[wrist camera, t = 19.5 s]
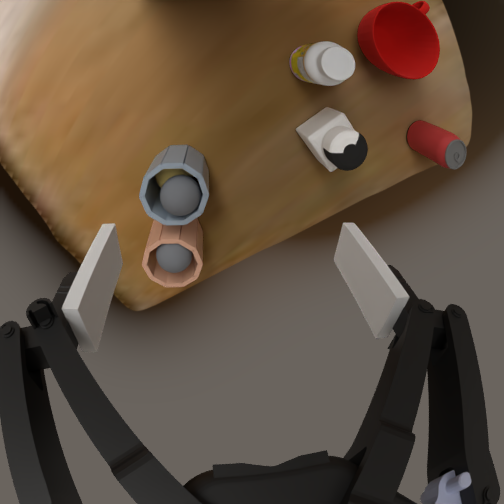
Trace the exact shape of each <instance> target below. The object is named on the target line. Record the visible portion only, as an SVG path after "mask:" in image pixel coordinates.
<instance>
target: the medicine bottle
mask: <svg viewBox="0 0 504 504" xmlns="http://www.w3.org/2000/svg"><path fill="white" fill-rule="evenodd" d="M296 131H297V133H298V134H299V136H300V137H301V138H302V140H303V141H304V142H305V144H306V145H307V146H308V148H309V149H310V151H311V152H312V153H313V155H314V156H315V158H316V159H317V160H318V161H319V162H320V163H321V164H322V165H324V166H325V167H326V168H327V169H328V170H329V171H330V172H333V171H334V170H335V169H337V168H339V169H341V170H345V171H348V170H353V169H356V168H357V167H359V166H360V165H361V164H362V163H363V162H364V160H365V158H366V156H367V151H368V148H367V143H366V140H365V138H364V137H363V136H362V135H361V134H360V133H358V132H356V131H355V130H354V129H353V127H352V125H351V124H350V122H349V120H348V119H347V117H346V116H345V114H344V113H342V112H340V111H337V110H335V109H332V108H330V107H325V108H324V109H323V110H321V111H320V112H318V113H317V114H315V115H314V116H313V117H311V118H310V119H308V120H307V121H306V122H304V123H303V124H301V125H300V126H299V127H297V128H296Z"/></svg>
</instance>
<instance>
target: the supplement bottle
mask: <svg viewBox="0 0 504 504" xmlns="http://www.w3.org/2000/svg"><path fill="white" fill-rule="evenodd" d="M289 64H290V68H291V71H292V72H293V74H294V75H295V76H296V77H297V78H298V79H300V80H302V81H305V82H309V83H315V84H321V85H326V86H334V85H338V84H340V83H342V82H343V81H345V80H346V79H348V78H349V77H351V76H352V74H353V73H354V70H355V60H354V58H353V56H352V54H351V53H350V52H349V51H348V50H346V49H345V48H342V47H341V46H340V45H338V44H336V43H334V42H329V41H322V42H317V43H311V44H307V45H303V46H300V47H298V48H297V49H295V50H294V51H293V53H292V54H291V56H290V61H289Z"/></svg>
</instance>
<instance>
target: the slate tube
mask: <svg viewBox="0 0 504 504" xmlns="http://www.w3.org/2000/svg"><path fill="white" fill-rule="evenodd" d="M178 168H182V169H184V170H185V171H187V172H188V173H190V174H191V175H193V176H194V177H196V178H197V179H198V181H199V187H200V191H201V199H200V202H199V205H198V206H197V208H196V209H195V210H194V211H193V212H191V213H190V214H188V215H184V216H176V215H173V214H170V213H169V212H168V211H166V210H165V209H164V207H163V206H162V203H161V200H160V191H161V187H160V186H159V185H158V183H157V181H156V178H155V175H156V174H157V173H158V172H160V171H161V170H162V169H178ZM139 196H140V197H139V198H140V200H141V202H142V204H143V207H144V209H145V211H146V213H147V214H148V216H150V217H151V218H153V219H155V220H156V221H158V222H160V223H161V224H163V225H185V224H186V225H187V224H188V223H189V222H191V221H192V220H194V219H195V218H197V217H198V216H200V215H202V213H203V211H204V208H205V205H206V203H207V200H208V197H209V170H208V167H207V164H206V161H205V158H204V156H203V154H201V153H200V152H198V151H197V150H195V149H194V148H193V147H191V146H190V145H189V146H188V145H170V146H168V147H167V148H166V149H164V150H163V151H162V152H160V153H159V154H158V155H156V157H155V158H154V160H153V162H152V163H151V165H150V167H149V169H148V171H147V172H146V174H145V176H144V178H143V182H142V186H141V190H140V194H139Z"/></svg>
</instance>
